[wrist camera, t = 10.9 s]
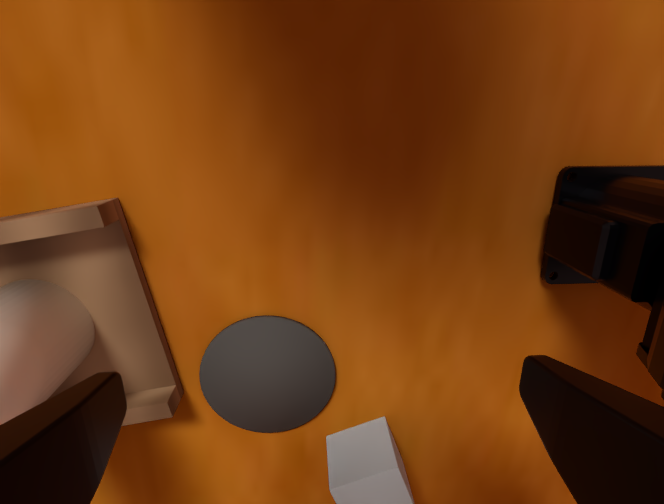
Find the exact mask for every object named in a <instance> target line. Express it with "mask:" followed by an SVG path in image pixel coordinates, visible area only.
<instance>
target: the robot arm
mask: <svg viewBox="0 0 664 504" xmlns="http://www.w3.org/2000/svg"><path fill="white" fill-rule="evenodd" d="M569 173H572V177H571V179H570V180H567V176H568V174H569ZM544 252H545V254H544V259H543V265H542V271H541V277H542V279H543V280H544V281H546V282H547V283H549V284H575V283H600V284H602V285H604V286H606V287H607V288H609V289H611V290H613V291H615V292H616V293H618V294H620V295H622V296H624V297H625V298H627V299H629V300H631V301H633V302H635V303H637V304H639V305H641V306H643V307H644V308H646V309H648V310H650V311H651V313H650V317H649V320H648V324H647V328H646V331H645V335H644V338H643V342H641V343H639V345H638V349H637V353H636V354H637V356H638V357H639V359H640V360H641V361H642V363H643V364H644V365H645V366H646V368H647V369H648V372H649V373H650V374H651V376H652V377H653V378H654V380H655V381H656V382H657V383H658V385H659V386H660V387H661V388H662V389H663V390H662V394H661V397H662V398H663V400H664V165H653V166H568V167H565V168H563V169H562V170H561V171H560V172H559V175H558V180H557V185H556V191H555V197H554V202H553V207H552V208H551V211H550V217H549V222H548V228H547V234H546V240H545V245H544ZM552 272H554V274H553V276H552V277H549V275H550V274H551V273H552ZM519 391H520V395H521V398H522V400H523V402H524V404H525V407H526V409H527V411H528V413H529V415H530V417H531V419H532V421H533V423H534V425H535V428H536V430H537V432H538V434H539V436H540V438H541V440H542V442H543V444H544V446H545V448H546V450H547V452H548V454H549V456H550V458H551V460H552V462H553V464H554V465H555V467H556V469H557V471H558V472H559V474H560V476H561V477H562V479H563V481H564V482H565V484H566V486H567V487H568V489H569V491H570V492H571V494H572V496H573V497H574V499H575V501H576V502H577V504H664V407H662V406H660V405H658V404H655V403H653V402H651V401H649V400H646V399H644V398H642V397H639V396H637V395H635V394H633V393H630V392H628V391H626V390H623V389H621V388H619V387H617V386H614V385H612V384H610V383H607V382H605V381H603V380H601V379H598V378H596V377H594V376H591V375H589V374H587V373H585V372H582V371H580V370H578V369H575V368H573V367H571V366H569V365H566V364H564V363H562V362H559V361H557V360H555V359H553V358H550V357H548V356H545V355H532V356H527V357H526V358H525V359H524V362H523V367H522V373H521V379H520V385H519ZM126 411H127V401H126V396H125V391H124V386H123V381H122V377H121V375H120V373H118V372H116V371H112V372H98V373H96V374H94V375H92V376H90V377H88V378H86V379H85V380H83V381H81V382H79V383H77V384H75V385H73V386H72V387H70V388H68V389H66V390H64V391H62V392H61V393H59V394H57V395H55V396H53V397H51V398H49V399H48V400H46V401H44V402H42V403H40V404H38V405H36V406H35V407H33V408H31V409H29V410H27V411H25V412H24V413H22V414H20V415H18V416H16V417H14V418H12V419H11V420H9V421H7V422H5V423H3V424H1V425H0V504H90V503H91V501H92V499H93V497H94V494H95V492H96V490H97V488H98V486H99V484H100V481H101V479H102V476H103V474H104V471H105V469H106V466H107V463H108V461H109V458H110V455H111V453H112V450H113V447H114V445H115V442H116V439H117V436H118V434H119V431H120V428H121V426H122V423H123V420H124V418H125V415H126Z"/></svg>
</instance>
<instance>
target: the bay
mask: <svg viewBox="0 0 664 504" xmlns="http://www.w3.org/2000/svg"><path fill="white" fill-rule="evenodd" d="M27 279H31V280H41V281H46V282H50V283H53V284H55V285H58V286H60V287H62V288H64V289H66V290H67V291H69V292H70V293H72V294H73V295H74V296H75V297H77V298H78V299H79V300H80V301H81V302H82V303H83V305H84V306H85V307H86V309H87V310H88V312H89V314H90V316H91V318H92V320H93V324H94V329H95V339H94V344H93V347H92V349H91V351H90V353H89V355H88V356H87V357H86V358H85V359H84V360H83V361H82V363H81V364H80V365H79V366H78V367H77V368H76V369H75V370H74V371H73V372H72V373H71V374H70V375H69V376H68V378H67V379H66V380H65V381H64V382H63V383H62V384H61V385H60V386H59V387H58V388H57V389H56V390H55V392H54V393H53V394H52V395H51V396H50V397H49V398H51V397H53V396H55V395H57V394H59V393H61V392H62V391H64V390H66V389H68V388H70V387H72V386H73V385H75V384H77V383H79V382H81V381H83V380H85V379H86V378H88V377H90V376H92V375H94V374H96V373H98V372H112V371H116V372H118V373H120V375H121V377H122V381H123V386H124V391H125V396H126V401H127V411H126V415H125V418H124V420H123V423H122V426H125V425H131V424H136V423H142V422H148V421H154V420H159V419H165V418H171V417H173V415H174V413H175V411H176V408H177V406H178V404H179V402H180V400H181V398H182V395H183V393H184V392H183V389H182V386H181V383H180V380H179V377H178V374H177V371H176V368H175V365H174V362H173V359H172V356H171V353H170V350H169V347H168V344H167V341H166V338H165V336H164V333H163V330H162V327H161V324H160V321H159V318H158V315H157V312H156V309H155V306H154V303H153V300H152V297H151V294H150V291H149V288H148V285H147V282H146V279H145V276H144V273H143V270H142V267H141V265H140V262H139V259H138V256H137V253H136V250H135V247H134V244H133V241H132V238H131V235H130V232H129V229H128V226H127V223H126V220H125V217H124V214H123V211H122V208H121V205H120V202H119V199H118V198H113V199H107V200H101V201H95V202H90V203H84V204H78V205H72V206H66V207H60V208H54V209H48V210H43V211H37V212H31V213H25V214H19V215H13V216H7V217H1V218H0V287H2V286H4V285H6V284H8V283H11V282H14V281H18V280H27ZM49 398H48V399H49ZM48 399H47V400H48Z"/></svg>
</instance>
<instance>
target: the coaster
mask: <svg viewBox="0 0 664 504" xmlns="http://www.w3.org/2000/svg"><path fill="white" fill-rule="evenodd" d="M200 384H201V389H202V391H203V394H204V396H205V398H206V400H207V402H208V403H209V405H210V406H211V407H212V409H213V410H214V411H215V412H216V413H217V414H218V415H219V416H221V417H222V418H223V419H225V420H226V421H228V422H229V423H231V424H233V425H235V426H237V427H240V428H243V429H246V430H250V431H254V432H263V433H273V432H281V431H286V430H290V429H293V428H296V427H298V426H301V425H303V424H305V423H306V422H308V421H310V420H311V419H312V418H314V417H315V416H316V415H317V414H318V413H319V412H320V411H321V410H322V409H323V408H324V407H325V405H326V404H327V402H328V401H329V399H330V397H331V395H332V392H333V389H334V385H335V366H334V361H333V357H332V355H331V352H330V350H329V349H328V347H327V345H326V344H325V342H324V341H323V340H322V339H321V337H320V336H318V335H317V334H316V333H315V332H314V331H313V330H311V329H310V328H309V327H307V326H305V325H303V324H302V323H300V322H297V321H295V320H292V319H288V318H285V317H279V316H255V317H250V318H246V319H243V320H240V321H238V322H236V323H233V324H231V325H230V326H228V327H227V328H225V329H224V330H222V331H221V332H220V333H219V334H218V335H217V336H216V337H215V338H214V339H213V340H212V341H211V343H210V344H209V346H208V347H207V349H206V351H205V354H204V356H203V358H202V362H201V365H200Z"/></svg>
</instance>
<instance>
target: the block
mask: <svg viewBox="0 0 664 504" xmlns="http://www.w3.org/2000/svg"><path fill="white" fill-rule="evenodd" d="M326 441H327V457H328V474H329V490H330V492H331V494H332V496H333V498H334V500H335V502H336V504H415V503H414V499H413V496H412V492H411V489H410V485H409V482H408V478H407V475H406V471H405V467H404V464H403V461H402V458H401V456H400V453H399V451H398V448H397V446H396V443H395V441H394V438H393V436H392V433H391V431H390V428H389V426H388V423H387V421H386V418H385V416H384V417H381V418H378V419H375V420H372V421H369V422H366V423H363V424H360V425H358V426H355V427H352V428H349V429H346V430H343V431H340V432H337V433H334V434H331V435H328V436H326Z"/></svg>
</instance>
